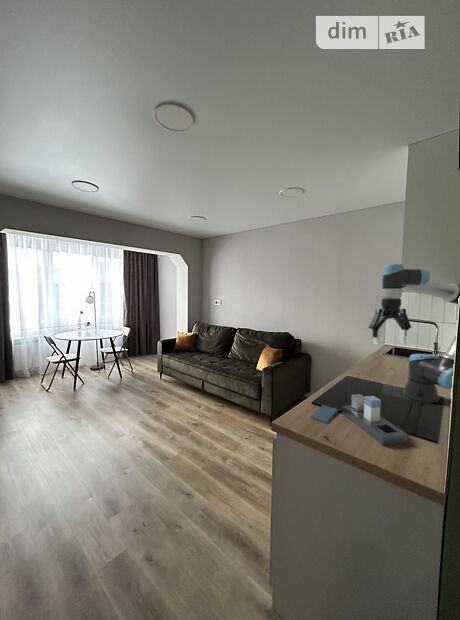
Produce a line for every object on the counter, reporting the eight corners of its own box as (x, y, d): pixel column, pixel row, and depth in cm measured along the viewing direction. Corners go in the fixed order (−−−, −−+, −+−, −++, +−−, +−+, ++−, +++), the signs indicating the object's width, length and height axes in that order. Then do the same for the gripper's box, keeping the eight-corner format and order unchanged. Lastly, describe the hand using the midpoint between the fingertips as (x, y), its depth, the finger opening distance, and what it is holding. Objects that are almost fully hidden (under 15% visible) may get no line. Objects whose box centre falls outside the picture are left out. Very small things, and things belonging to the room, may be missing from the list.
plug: (372, 423, 104) (373, 395, 103) (379, 428, 100) (380, 400, 99) (363, 424, 104) (364, 396, 103) (370, 429, 100) (371, 400, 99)
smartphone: (309, 416, 108) (322, 404, 119) (309, 420, 108) (322, 407, 119) (326, 422, 103) (338, 409, 114) (326, 426, 103) (338, 412, 114)
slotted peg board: (362, 411, 114) (363, 392, 114) (406, 442, 91) (408, 418, 90) (342, 413, 113) (343, 393, 112) (382, 445, 89) (383, 420, 89)
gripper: (407, 298, 119) (405, 341, 121) (361, 298, 115) (359, 342, 117) (422, 298, 112) (419, 344, 114) (373, 298, 108) (371, 346, 109)
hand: (389, 343), depth 115 cm, fingers open, 13 cm apart
